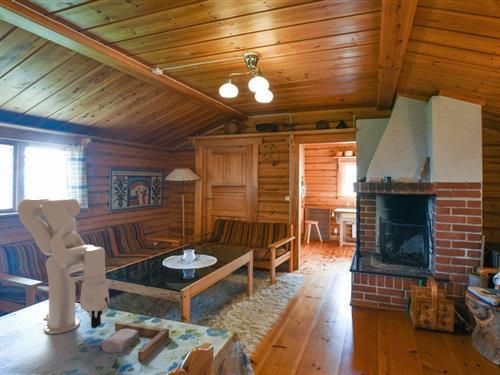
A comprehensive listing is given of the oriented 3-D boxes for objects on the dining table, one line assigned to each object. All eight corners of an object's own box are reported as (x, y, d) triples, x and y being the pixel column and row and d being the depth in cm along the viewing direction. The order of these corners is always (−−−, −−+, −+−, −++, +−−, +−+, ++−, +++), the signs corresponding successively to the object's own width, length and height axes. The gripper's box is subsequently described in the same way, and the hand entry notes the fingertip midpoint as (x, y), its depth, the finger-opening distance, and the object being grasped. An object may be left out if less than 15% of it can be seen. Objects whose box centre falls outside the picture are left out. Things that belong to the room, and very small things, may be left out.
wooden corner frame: (86, 349, 111) (86, 341, 110) (118, 328, 127) (118, 321, 127) (143, 360, 104) (143, 352, 104) (168, 336, 120) (169, 329, 120)
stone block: (98, 356, 110) (123, 353, 108) (96, 342, 110) (121, 340, 108) (118, 340, 122) (141, 338, 120) (117, 328, 122) (139, 326, 120)
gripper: (71, 281, 116) (72, 328, 116) (103, 283, 112) (105, 333, 112) (86, 275, 123) (88, 320, 123) (117, 277, 119) (118, 323, 119)
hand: (96, 326), depth 117 cm, fingers closed
